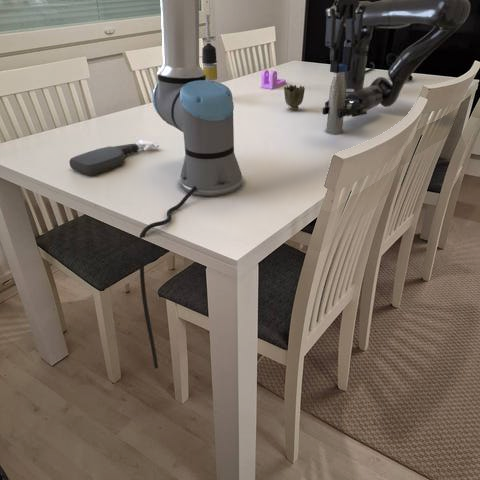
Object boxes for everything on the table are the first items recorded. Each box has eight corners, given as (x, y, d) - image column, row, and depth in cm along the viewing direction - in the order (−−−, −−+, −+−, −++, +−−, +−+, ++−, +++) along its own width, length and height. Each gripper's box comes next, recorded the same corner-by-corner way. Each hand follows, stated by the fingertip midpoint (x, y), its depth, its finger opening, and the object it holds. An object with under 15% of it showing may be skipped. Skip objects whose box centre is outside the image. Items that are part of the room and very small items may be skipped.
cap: (337, 72, 130) (337, 66, 129) (330, 70, 134) (330, 64, 133) (349, 71, 131) (350, 65, 130) (342, 69, 135) (343, 63, 134)
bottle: (338, 135, 139) (345, 70, 129) (324, 132, 141) (329, 68, 131) (344, 130, 143) (351, 67, 133) (329, 128, 145) (335, 65, 135)
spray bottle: (67, 168, 120) (139, 144, 136) (91, 178, 114) (163, 151, 130) (65, 157, 118) (137, 134, 134) (89, 167, 112) (162, 142, 128)
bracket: (272, 88, 190) (272, 71, 187) (261, 87, 193) (261, 70, 189) (288, 83, 199) (288, 66, 195) (277, 81, 202) (278, 65, 198)
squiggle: (400, 92, 202) (376, 71, 205) (417, 76, 202) (392, 56, 205) (405, 81, 191) (380, 59, 194) (423, 64, 191) (397, 42, 194)
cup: (280, 111, 162) (280, 88, 158) (287, 106, 167) (288, 84, 163) (299, 113, 159) (300, 90, 155) (306, 108, 164) (308, 85, 160)
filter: (220, 99, 177) (217, 15, 161) (206, 100, 176) (202, 16, 160) (215, 96, 182) (212, 14, 166) (202, 97, 180) (197, 14, 164)
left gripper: (335, -19, 113) (327, 77, 126) (381, -21, 121) (369, 69, 134) (315, -19, 119) (309, 73, 131) (360, -22, 127) (351, 65, 139)
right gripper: (342, 86, 150) (312, 96, 139) (381, 93, 141) (353, 104, 131) (339, 109, 154) (311, 120, 143) (377, 116, 145) (350, 129, 135)
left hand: (339, 71), depth 132 cm, fingers closed on cap, 4 cm apart
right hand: (331, 112), depth 137 cm, fingers closed on bottle, 5 cm apart
